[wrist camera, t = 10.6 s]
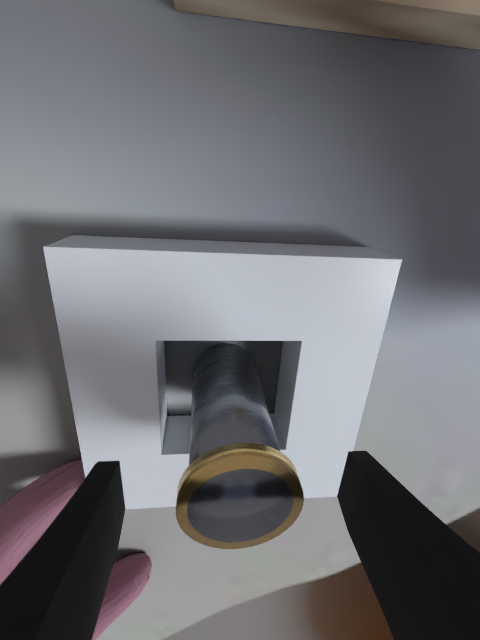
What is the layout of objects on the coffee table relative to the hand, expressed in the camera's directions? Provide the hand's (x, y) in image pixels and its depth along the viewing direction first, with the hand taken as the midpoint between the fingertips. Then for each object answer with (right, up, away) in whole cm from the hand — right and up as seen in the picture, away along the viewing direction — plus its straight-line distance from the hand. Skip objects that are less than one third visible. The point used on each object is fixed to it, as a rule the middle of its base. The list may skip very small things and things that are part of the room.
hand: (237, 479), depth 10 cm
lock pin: (-1, +3, +5) cm, 6 cm away
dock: (-1, +3, +5) cm, 6 cm away
